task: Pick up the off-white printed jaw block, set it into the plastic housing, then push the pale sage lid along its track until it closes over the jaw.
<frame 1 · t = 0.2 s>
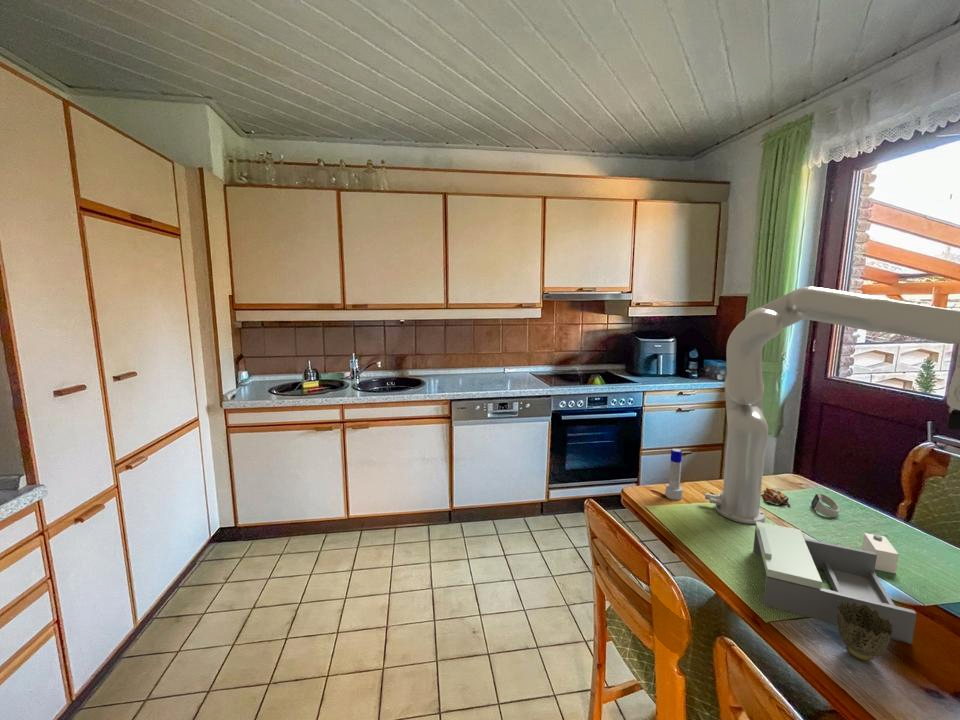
cup: (858, 656, 77), on the table
housing: (861, 600, 91), on the table
wristwatch: (825, 511, 128), on the table
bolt: (673, 497, 138), on the table
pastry: (772, 499, 136), on the table
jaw: (877, 562, 104), on the table
lid: (785, 549, 96), point 8 cm above the table, slide at 14.0 cm
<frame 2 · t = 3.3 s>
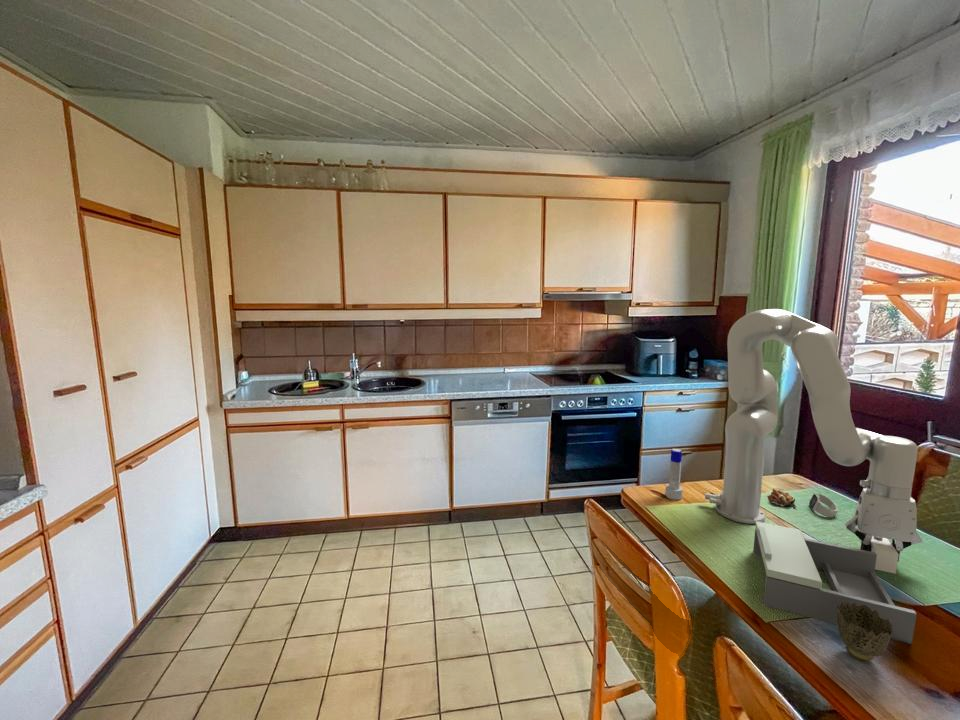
hand: (878, 559, 104), 0 cm above the table, tool pointing down, fingers closed on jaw, 4 cm apart
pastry: (779, 501, 135), on the table
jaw: (878, 561, 104), on the table, touching gripper
everything else where it was.
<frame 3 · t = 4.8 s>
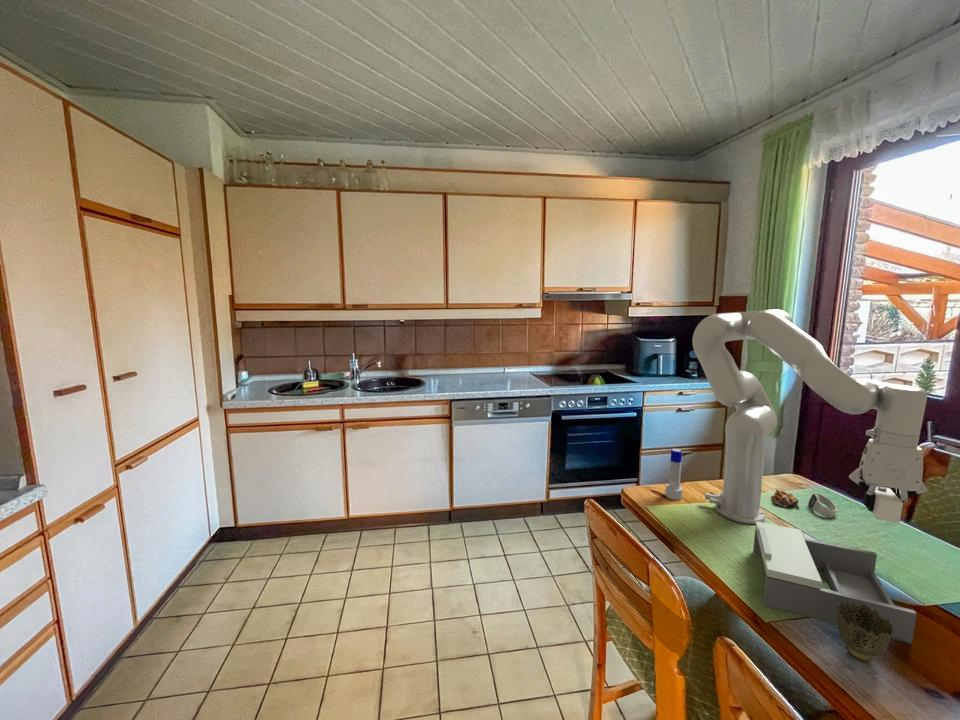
hand: (881, 510, 102), 13 cm above the table, tool pointing down, fingers closed on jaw, 4 cm apart
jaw: (881, 512, 102), point 12 cm above the table, touching gripper
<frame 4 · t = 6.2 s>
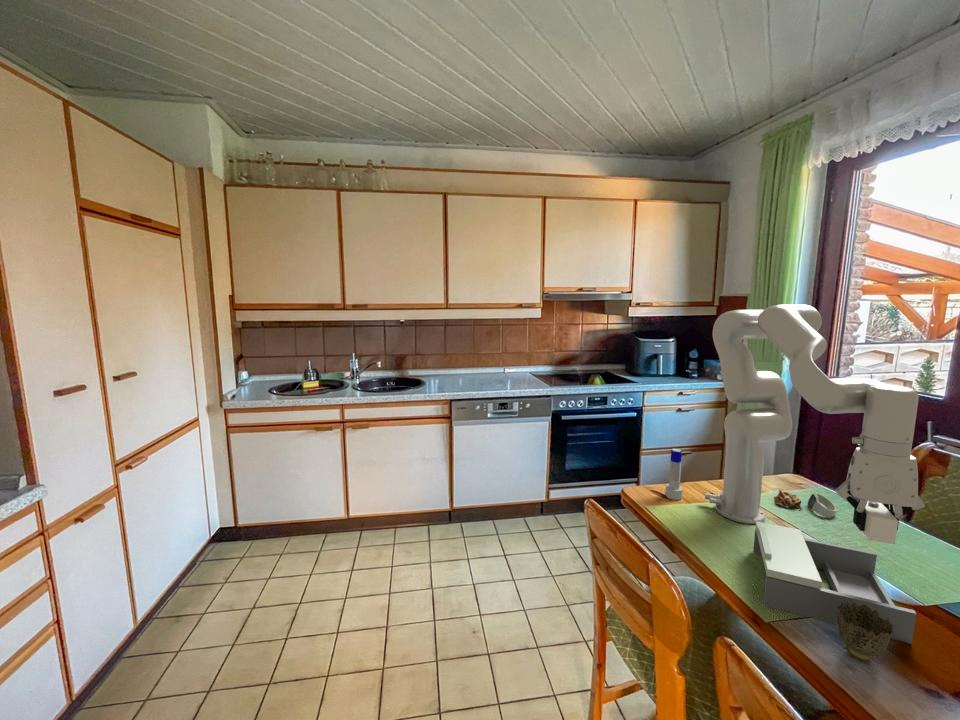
hand: (874, 529, 89), 16 cm above the table, tool pointing down, fingers closed on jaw, 4 cm apart
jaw: (873, 532, 89), point 15 cm above the table, touching gripper
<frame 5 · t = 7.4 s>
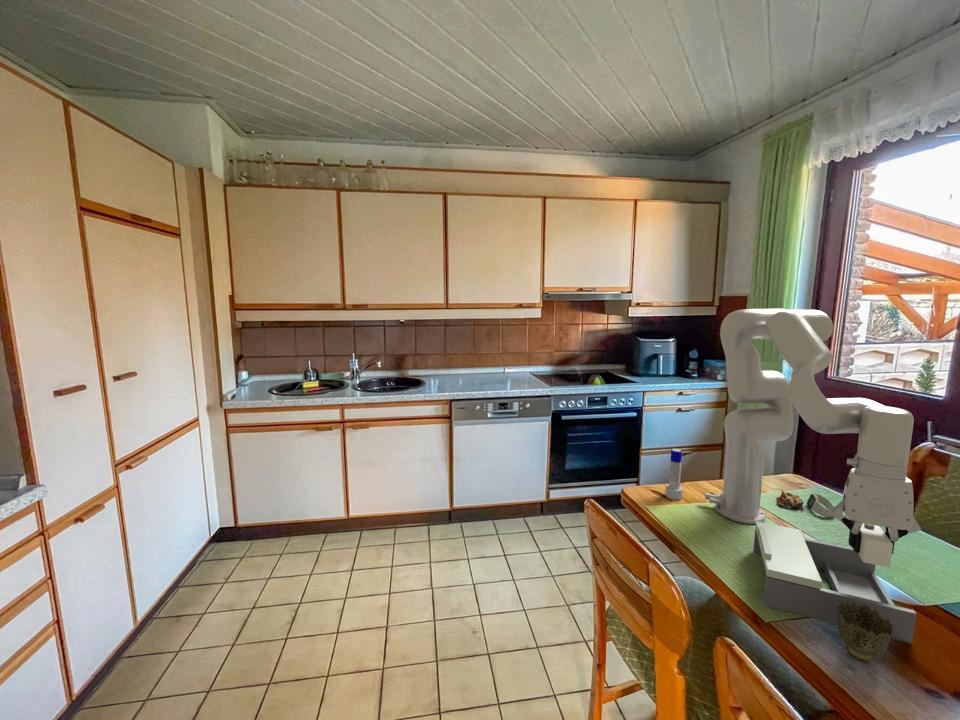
hand: (869, 551, 89), 11 cm above the table, tool pointing down, fingers closed on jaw, 4 cm apart
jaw: (869, 554, 89), point 11 cm above the table, touching gripper
when the fingers open (2 cm above the table, at t = 9.2 s): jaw drops 2 cm, resting on housing.
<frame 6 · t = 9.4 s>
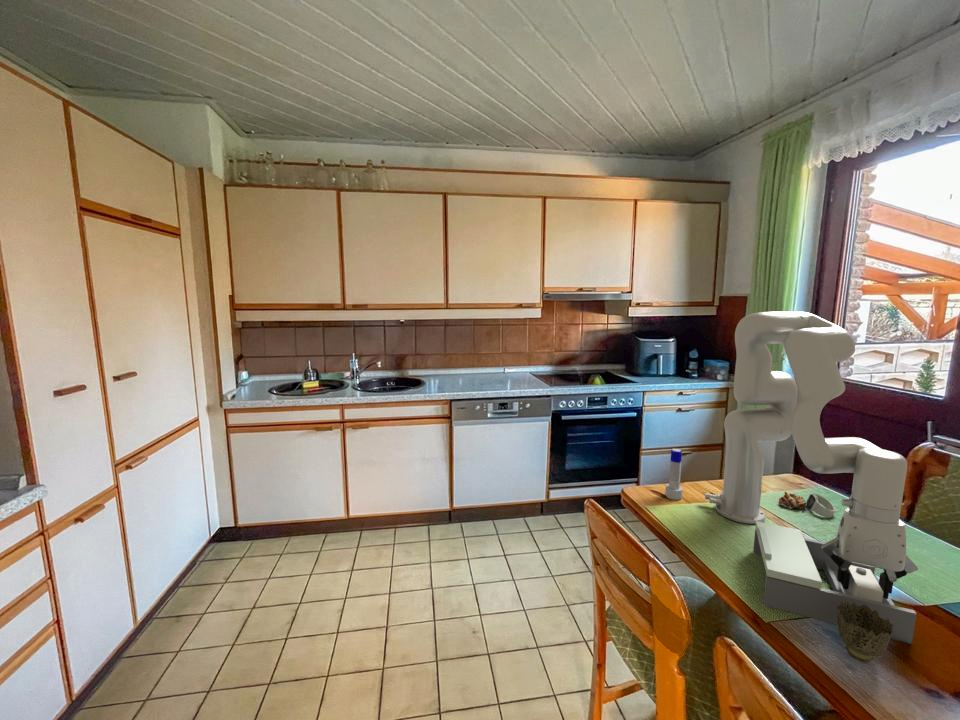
hand: (863, 589, 90), 3 cm above the table, tool pointing down, fingers open, 5 cm apart
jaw: (861, 599, 91), resting on housing
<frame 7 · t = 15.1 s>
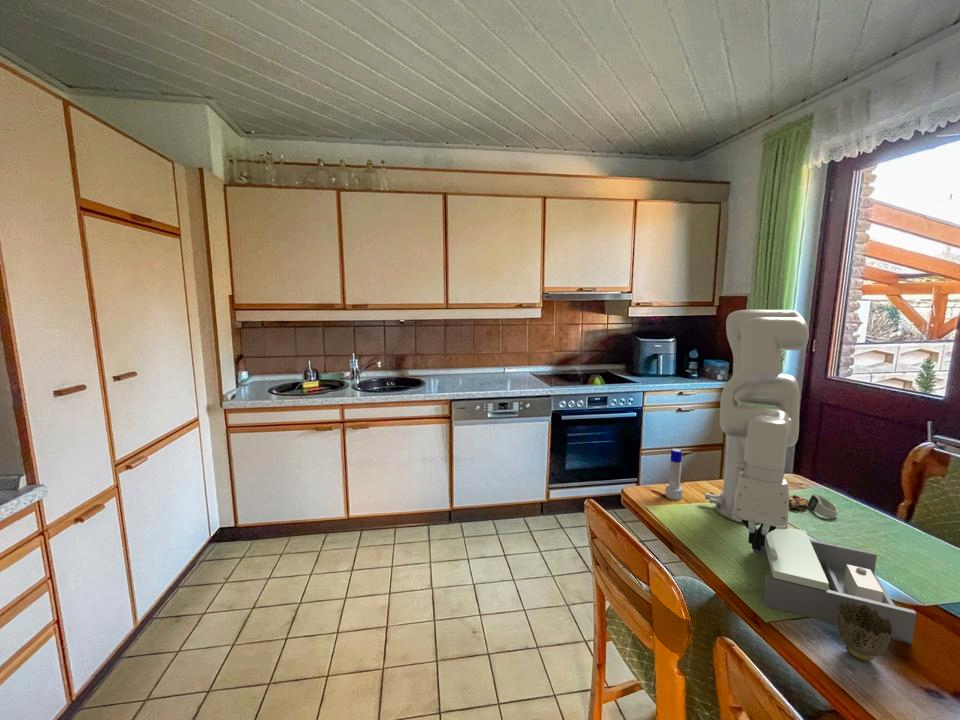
hand: (755, 547, 98), 7 cm above the table, tool pointing down, fingers closed
lid: (790, 550, 95), point 8 cm above the table, slide at 12.9 cm, touching gripper
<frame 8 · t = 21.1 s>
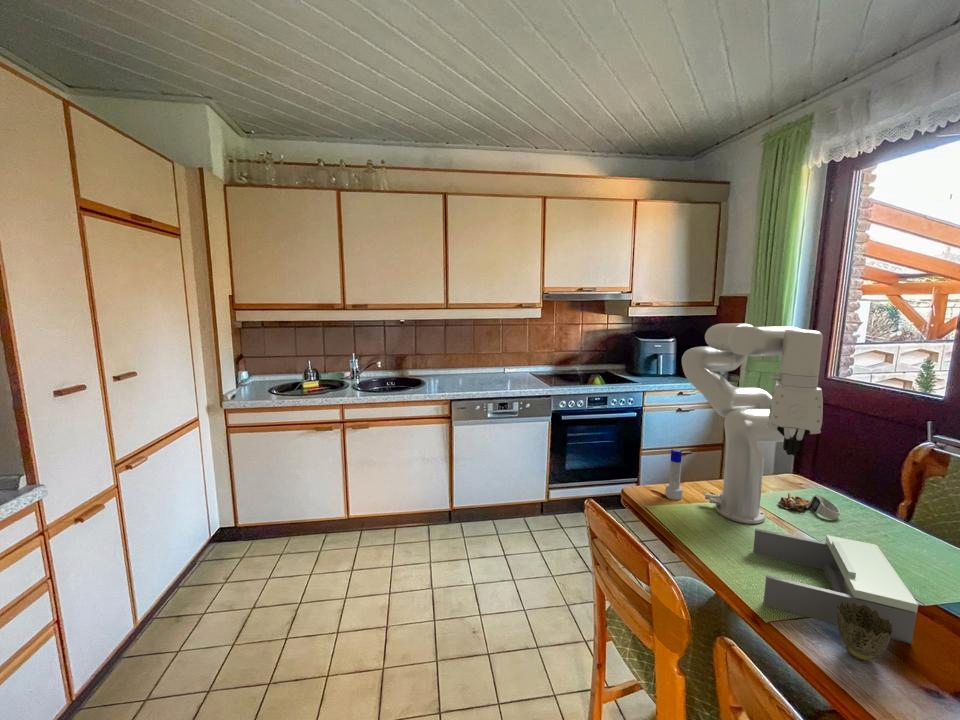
hand: (790, 453, 106), 25 cm above the table, tool pointing down, fingers closed
lid: (866, 566, 89), point 8 cm above the table, slide at 0.0 cm
at the end: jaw 0.1 cm off-centre on the housing, point 0.4 cm above the housing's base; lid slide at 0.0 cm; the gripper is holding nothing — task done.
